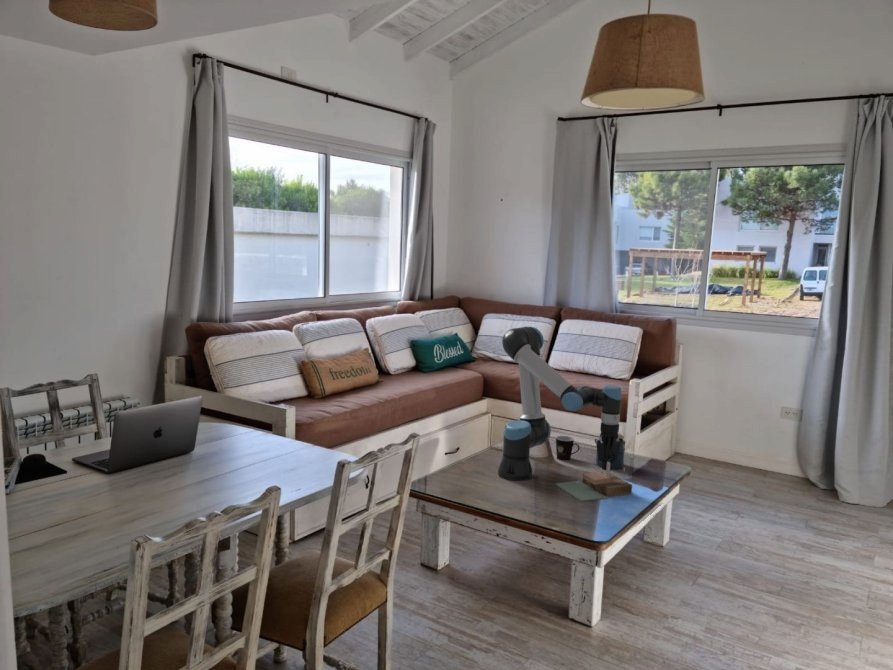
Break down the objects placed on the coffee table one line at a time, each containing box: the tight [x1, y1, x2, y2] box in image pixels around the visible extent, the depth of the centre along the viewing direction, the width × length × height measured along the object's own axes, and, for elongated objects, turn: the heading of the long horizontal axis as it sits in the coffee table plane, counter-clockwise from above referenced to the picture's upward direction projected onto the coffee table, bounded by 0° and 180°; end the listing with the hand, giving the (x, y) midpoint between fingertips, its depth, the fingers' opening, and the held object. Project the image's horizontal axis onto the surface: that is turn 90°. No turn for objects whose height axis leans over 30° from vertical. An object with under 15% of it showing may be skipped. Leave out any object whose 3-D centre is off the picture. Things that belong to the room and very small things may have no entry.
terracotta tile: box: [582, 471, 611, 485], centre depth 289 cm, size 8×8×2 cm
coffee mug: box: [555, 435, 581, 461], centre depth 328 cm, size 12×9×10 cm
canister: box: [595, 432, 626, 470], centre depth 322 cm, size 13×13×18 cm
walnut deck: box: [582, 471, 633, 498], centre depth 292 cm, size 18×12×4 cm, turn 22°
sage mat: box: [555, 480, 608, 502], centre depth 287 cm, size 20×12×1 cm, turn 22°
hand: (605, 476), depth 291 cm, fingers closed
